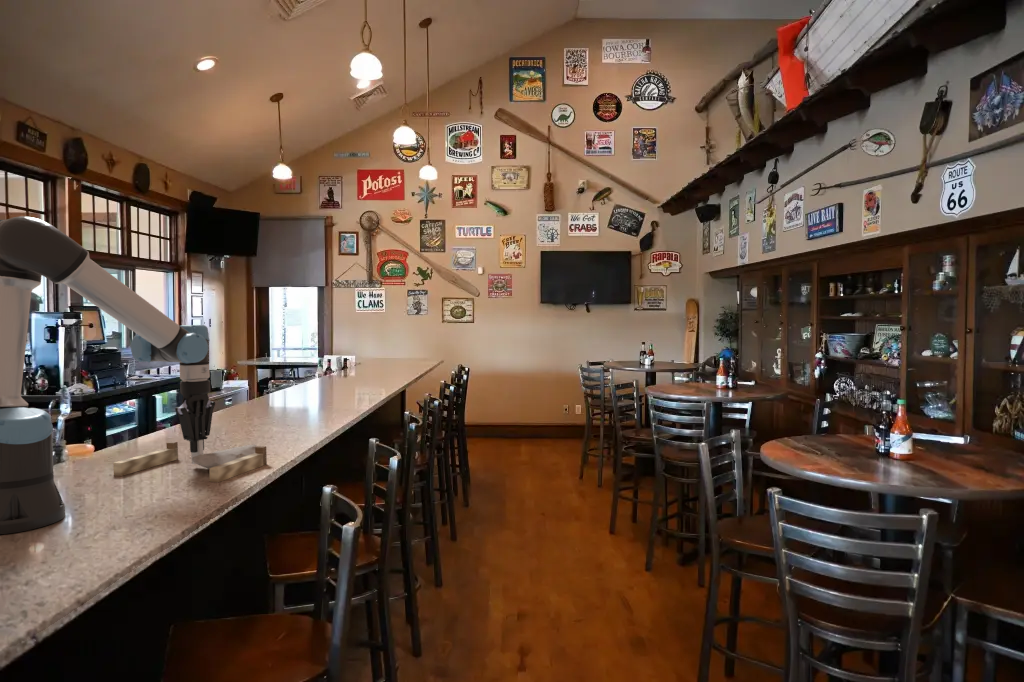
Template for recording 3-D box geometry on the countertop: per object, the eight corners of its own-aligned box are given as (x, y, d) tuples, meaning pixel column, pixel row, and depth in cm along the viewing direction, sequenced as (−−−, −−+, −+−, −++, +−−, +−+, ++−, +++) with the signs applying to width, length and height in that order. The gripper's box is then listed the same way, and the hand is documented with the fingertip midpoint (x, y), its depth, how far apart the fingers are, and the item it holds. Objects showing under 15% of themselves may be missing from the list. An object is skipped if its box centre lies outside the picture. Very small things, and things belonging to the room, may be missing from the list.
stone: (226, 480, 166) (277, 459, 191) (227, 462, 166) (279, 443, 191) (184, 472, 169) (240, 452, 193) (186, 453, 168) (242, 436, 193)
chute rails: (218, 482, 160) (217, 462, 159) (113, 475, 168) (113, 456, 168) (266, 464, 179) (266, 446, 179) (171, 458, 187) (170, 441, 187)
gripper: (189, 382, 167) (191, 469, 168) (222, 377, 180) (225, 458, 181) (165, 382, 169) (168, 467, 170) (200, 377, 182) (203, 457, 183)
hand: (197, 462), depth 175 cm, fingers closed
